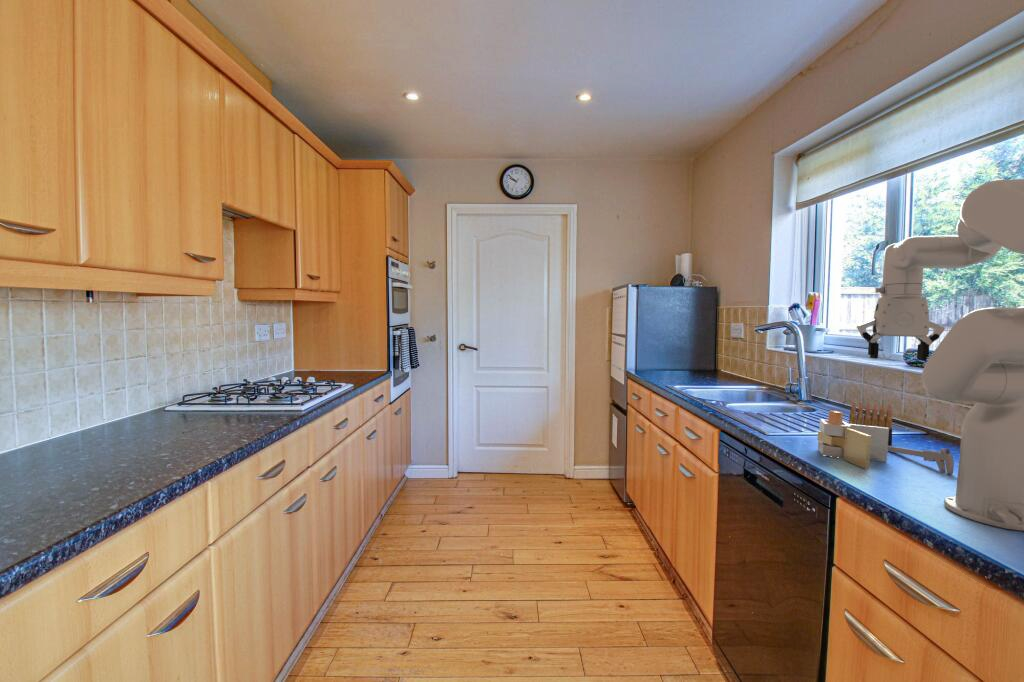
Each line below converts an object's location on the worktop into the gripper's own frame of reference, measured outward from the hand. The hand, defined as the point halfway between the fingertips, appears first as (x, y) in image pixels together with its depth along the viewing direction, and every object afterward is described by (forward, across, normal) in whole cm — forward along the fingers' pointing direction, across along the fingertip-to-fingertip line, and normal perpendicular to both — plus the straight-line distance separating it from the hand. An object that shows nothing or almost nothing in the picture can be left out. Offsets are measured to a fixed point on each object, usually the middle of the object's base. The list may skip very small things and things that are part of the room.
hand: (897, 359), depth 110 cm
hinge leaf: (+27, -10, -1) cm, 29 cm away
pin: (+27, -12, +4) cm, 30 cm away
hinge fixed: (+27, -7, +3) cm, 29 cm away
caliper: (+28, +8, +8) cm, 30 cm away
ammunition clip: (+27, +2, +23) cm, 36 cm away
